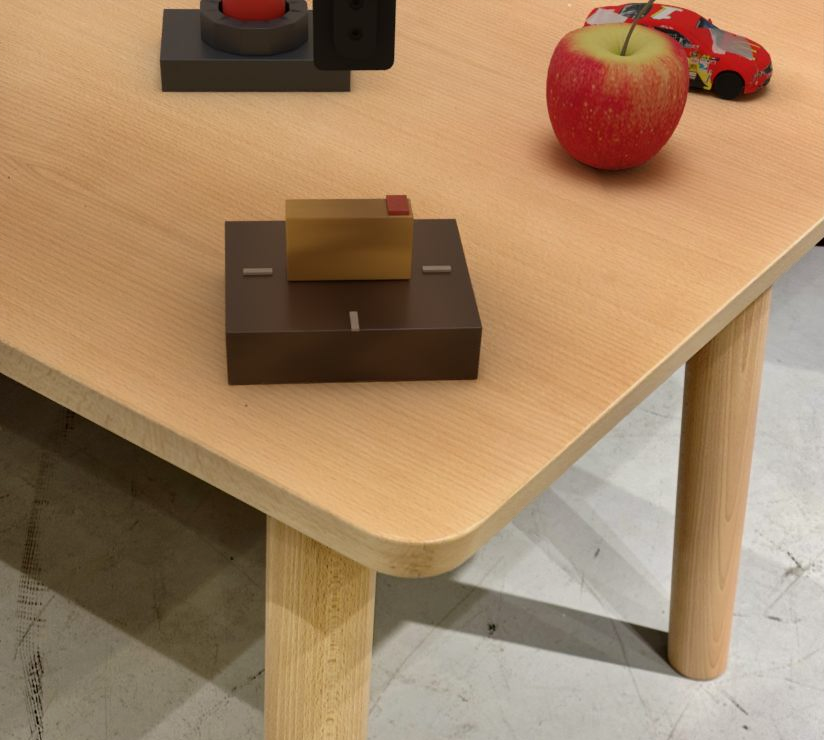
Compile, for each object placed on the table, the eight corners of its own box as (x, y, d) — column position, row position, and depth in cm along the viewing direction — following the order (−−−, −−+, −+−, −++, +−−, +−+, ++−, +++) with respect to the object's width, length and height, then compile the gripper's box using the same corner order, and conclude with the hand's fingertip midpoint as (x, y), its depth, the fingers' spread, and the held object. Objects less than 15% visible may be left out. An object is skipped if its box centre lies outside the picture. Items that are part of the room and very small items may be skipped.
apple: (701, 179, 83) (735, 16, 76) (576, 201, 80) (600, 34, 73) (633, 119, 88) (659, -39, 82) (514, 138, 86) (531, -24, 79)
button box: (162, 92, 88) (157, 31, 85) (165, 40, 94) (161, -19, 91) (350, 92, 89) (351, 32, 87) (342, 40, 95) (343, -18, 92)
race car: (774, 77, 94) (788, 19, 92) (760, 109, 90) (774, 50, 88) (588, 38, 97) (596, -18, 95) (567, 68, 94) (575, 10, 91)
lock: (287, 281, 67) (286, 213, 64) (285, 261, 68) (285, 194, 66) (410, 280, 68) (414, 212, 65) (406, 260, 69) (410, 193, 66)
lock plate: (227, 386, 65) (225, 330, 63) (226, 269, 73) (224, 216, 71) (478, 380, 67) (483, 326, 65) (451, 266, 74) (455, 214, 72)
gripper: (236, -509, 53) (253, -57, 65) (239, -436, 40) (260, 111, 52) (429, -502, 54) (412, -56, 65) (493, -429, 41) (458, 109, 53)
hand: (345, 17), depth 59 cm, fingers open, 9 cm apart
